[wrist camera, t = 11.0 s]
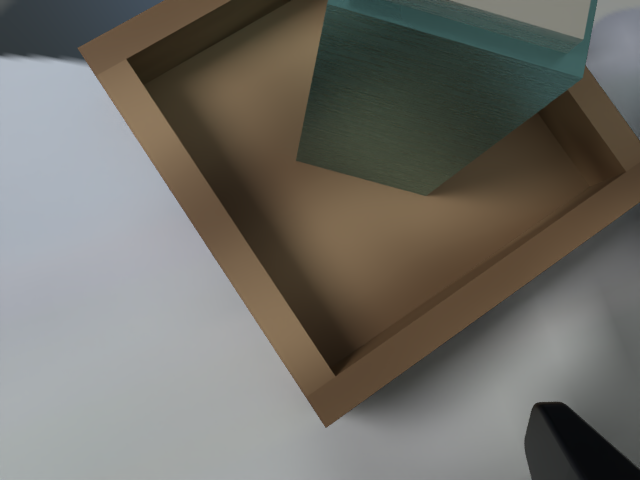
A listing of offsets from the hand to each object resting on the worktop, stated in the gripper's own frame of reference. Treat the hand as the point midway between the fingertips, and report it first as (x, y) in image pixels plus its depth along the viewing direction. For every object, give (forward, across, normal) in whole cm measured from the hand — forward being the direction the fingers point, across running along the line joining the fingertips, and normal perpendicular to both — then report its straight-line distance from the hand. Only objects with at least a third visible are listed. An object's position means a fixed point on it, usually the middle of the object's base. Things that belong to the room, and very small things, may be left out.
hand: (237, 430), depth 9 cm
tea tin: (+13, -3, 0) cm, 13 cm away
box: (+13, -3, +1) cm, 13 cm away
